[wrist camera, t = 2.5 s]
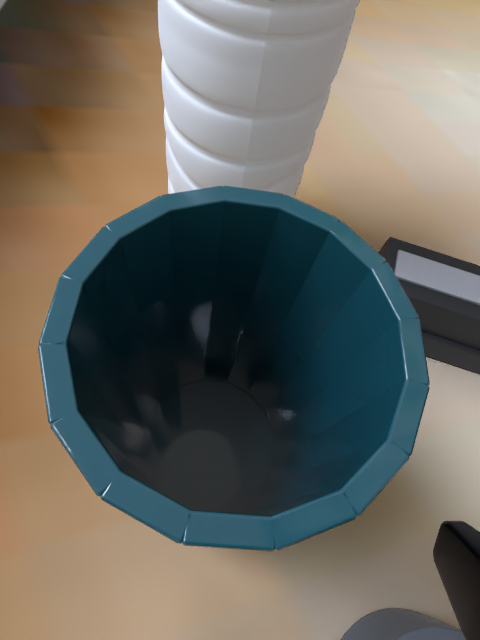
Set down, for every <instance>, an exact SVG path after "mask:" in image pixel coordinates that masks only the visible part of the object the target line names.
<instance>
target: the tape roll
mask: <svg viewBox="0 0 480 640" xmlns="http://www.w3.org/2000/svg"><path fill="white" fill-rule="evenodd" d="M341 640H466V639H465V637H464V635H463V632H462V631H461V630H459V629H457V628H454V627H452V626H449V625H447V624H445V623H442V622H440V621H437V620H435V619H432V618H430V617H428V616H425V615H423V614H420V613H418V612H414V611H411V610H407V609H400V608H388V609H383V610H378V611H375V612H373V613H370V614H368V615H366V616H365V617H363V618H361V619H360V620H359V621H357V622H356V623H355V624H354V625H353V626H352V627H351V628H350V629H349V630H348V631H347V632H346V633H345V634H344V636H343V637H342V639H341Z"/></svg>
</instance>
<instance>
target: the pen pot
mask: <svg viewBox="0 0 480 640" xmlns="http://www.w3.org/2000/svg"><path fill="white" fill-rule="evenodd" d="M386 262H387V261H386V260H385V259H384V258H383V257H382V256H381V255H380V254H379V253H377V252H376V251H375V250H374V249H373V248H372V247H371V246H370V245H369V244H367V243H366V242H365V241H364V240H363V239H362V238H361V237H360V236H358V235H357V234H356V233H355V232H354V231H353V230H352V229H351V228H350V227H348V226H347V225H346V224H345V223H344V222H343V221H340V220H339V219H338V218H336V217H334V216H332V215H330V214H328V213H325V212H323V211H321V210H319V209H317V208H314V207H312V206H310V205H308V204H306V203H304V202H301V201H299V200H297V199H295V198H293V197H290V196H288V195H283V194H282V193H276V192H269V191H262V190H255V189H247V188H240V187H233V186H226V185H225V186H223V187H222V186H214V187H208V188H202V189H196V190H190V191H184V192H178V193H172V194H166V195H162V197H161V196H158V197H156V198H155V199H153V200H151V201H149V202H147V203H145V204H143V205H141V206H140V207H138V208H136V209H134V210H132V211H130V212H128V213H126V214H125V215H123V216H121V217H119V218H117V219H115V220H113V221H111V222H110V223H108V224H106V225H105V227H102V228H101V230H100V231H99V232H98V233H97V234H96V235H95V236H94V238H93V239H92V240H91V241H90V242H89V243H88V245H87V246H86V247H85V248H84V249H83V250H82V251H81V253H80V254H79V255H78V256H77V257H76V258H75V259H74V261H73V262H72V263H71V264H70V265H69V266H68V268H67V269H66V270H65V271H64V272H63V273H62V275H61V277H60V278H59V280H58V284H57V287H56V290H55V293H54V296H53V299H52V303H51V306H50V309H49V312H48V315H47V318H46V322H45V325H44V328H43V331H42V334H41V338H40V341H39V347H38V351H39V358H40V365H41V373H42V380H43V387H44V394H45V401H46V408H47V415H48V422H49V423H50V424H51V429H52V430H53V432H54V433H55V435H56V436H57V438H58V439H59V441H60V442H61V444H62V445H63V446H64V448H65V449H66V451H67V452H68V454H69V455H70V457H71V458H72V460H73V461H74V463H75V464H76V466H77V467H78V468H79V470H80V471H81V473H82V474H83V476H84V477H85V479H86V480H87V482H88V483H89V485H90V486H91V488H92V489H93V491H94V492H95V493H96V495H97V496H99V497H101V499H102V500H103V501H104V502H106V503H108V504H110V505H111V506H113V507H115V508H117V509H118V510H120V511H122V512H124V513H125V514H127V515H129V516H131V517H132V518H134V519H136V520H138V521H139V522H141V523H143V524H145V525H146V526H148V527H150V528H152V529H153V530H155V531H157V532H159V533H160V534H162V535H164V536H166V537H167V538H169V539H171V540H173V541H174V542H176V543H180V544H181V543H182V544H183V545H185V546H198V547H213V548H228V549H242V550H257V551H274V550H281V549H284V548H286V547H289V546H291V545H293V544H296V543H298V542H301V541H303V540H306V539H308V538H310V537H313V536H315V535H318V534H320V533H323V532H325V531H327V530H330V529H332V528H335V527H337V526H340V525H342V524H344V523H347V522H349V521H352V520H354V519H355V518H356V517H357V516H360V515H361V514H362V513H363V511H364V510H365V509H366V508H367V507H368V506H369V505H370V503H371V502H372V501H373V500H374V499H375V498H376V497H377V495H378V494H379V493H380V492H381V491H382V490H383V488H384V487H385V486H386V485H387V484H388V483H389V482H390V480H391V479H392V478H393V477H394V476H395V475H396V474H397V472H398V471H399V470H400V469H401V468H402V467H403V465H404V464H405V463H406V462H407V461H408V460H409V456H410V455H411V454H412V450H413V447H414V443H415V439H416V436H417V432H418V428H419V425H420V421H421V417H422V414H423V410H424V406H425V402H426V399H427V395H428V391H429V376H428V369H427V363H426V356H425V349H424V343H423V336H422V330H421V323H420V320H419V319H418V318H419V316H418V314H417V313H416V311H415V309H414V307H413V305H412V304H411V302H410V300H409V298H408V297H407V295H406V293H405V291H404V290H403V288H402V286H401V284H400V282H399V281H398V279H397V277H396V275H395V274H394V272H393V270H392V268H391V267H390V265H389V263H386Z"/></svg>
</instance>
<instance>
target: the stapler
mask: <svg viewBox="0 0 480 640" xmlns="http://www.w3.org/2000/svg"><path fill="white" fill-rule="evenodd" d="M379 254H380V255H381V256H382V257H383V258H384V259H385V260H386V261H387V262H386V263H389V265H390V267H391V268H392V270H393V272H394V274H395V275H396V277H397V279H398V281H399V282H400V284H401V286H402V288H403V290H404V291H405V293H406V295H407V297H408V298H409V300H410V302H411V304H412V305H413V307H414V309H415V311H416V313H417V314H418V316H419V318H418V319H419V320H420V323H421V330H422V336H423V343H424V349H425V356H427V357H430V358H433V359H436V360H439V361H442V362H445V363H449V364H452V365H455V366H458V367H461V368H464V369H467V370H470V371H473V372H476V373H479V374H480V266H478V265H475V264H472V263H469V262H466V261H463V260H460V259H457V258H454V257H451V256H447V255H444V254H441V253H438V252H435V251H432V250H429V249H426V248H423V247H420V246H417V245H413V244H410V243H407V242H404V241H401V240H398V239H395V238H392V237H390V238H389V239H388V240H387V242H386V243H385V244H384V246H383V247H382V248H381V250H380V251H379Z"/></svg>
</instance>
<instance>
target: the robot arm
mask: <svg viewBox="0 0 480 640" xmlns="http://www.w3.org/2000/svg"><path fill="white" fill-rule="evenodd" d="M433 557H434V561H435V564H436V567H437V569H438V572H439V574H440V577H441V580H442V582H443V585H444V587H445V590H446V592H447V595H448V597H449V600H450V602H451V605H452V607H453V610H454V612H455V615H456V617H457V620H458V622H459V625H460V627H461V630H462V632H463V635H464V637H465V639H466V640H480V532H479V531H477V530H476V529H474V528H473V527H471V526H470V525H468V524H467V523H465V522H463V521H444V522H443V523H442V524H441V526H440V529H439V532H438V536H437V539H436V542H435V546H434V549H433Z"/></svg>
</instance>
